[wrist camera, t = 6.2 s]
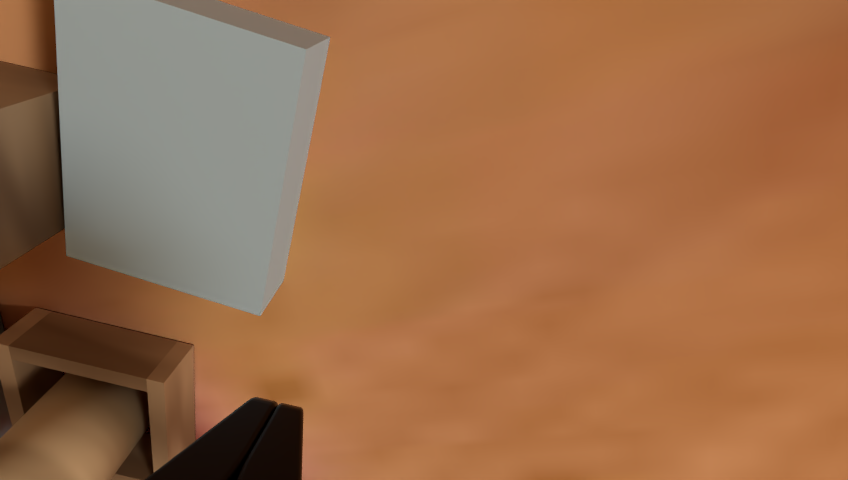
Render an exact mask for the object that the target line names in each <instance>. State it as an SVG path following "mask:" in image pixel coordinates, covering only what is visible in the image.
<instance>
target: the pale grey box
mask: <svg viewBox="0 0 848 480" xmlns="http://www.w3.org/2000/svg"><path fill="white" fill-rule="evenodd" d="M54 11H55V32H56V53H57V74H58V94H59V115H60V136H61V157H62V178H63V199H64V220H65V241H66V256H69V257H72V258H75V259H78V260H81V261H85V262H88V263H91V264H94V265H98V266H101V267H104V268H107V269H110V270H114V271H117V272H120V273H123V274H126V275H130V276H133V277H136V278H139V279H143V280H146V281H149V282H152V283H155V284H159V285H162V286H165V287H168V288H171V289H175V290H178V291H181V292H184V293H188V294H191V295H194V296H197V297H200V298H204V299H207V300H210V301H213V302H216V303H220V304H223V305H226V306H229V307H233V308H236V309H239V310H242V311H245V312H249V313H252V314H255V315H258V316H261V314H262V313H263V311H264V310H265V308H266V307H267V305H268V303H269V302H270V300H271V299H272V297H273V296H274V294H275V293H276V291H277V290H278V288H279V287H280V285H281V284H282V282H283V280H284V275H285V270H286V265H287V260H288V254H289V249H290V244H291V239H292V234H293V228H294V223H295V218H296V213H297V208H298V202H299V197H300V192H301V187H302V182H303V176H304V171H305V166H306V161H307V156H308V150H309V145H310V140H311V135H312V130H313V124H314V119H315V114H316V109H317V104H318V98H319V93H320V88H321V83H322V78H323V72H324V67H325V62H326V57H327V52H328V46H329V41H330V37H328V36H325V35H322V34H319V33H316V32H313V31H310V30H307V29H304V28H301V27H298V26H295V25H291V24H288V23H285V22H282V21H279V20H276V19H273V18H270V17H267V16H264V15H261V14H258V13H255V12H252V11H249V10H245V9H242V8H239V7H236V6H233V5H230V4H227V3H224V2H221V1H218V0H54Z"/></svg>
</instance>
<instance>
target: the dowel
mask: <svg viewBox="0 0 848 480" xmlns="http://www.w3.org/2000/svg"><path fill="white" fill-rule="evenodd" d="M149 426H150V419H149V406H148V393H147V392H145V391H141V390H137V389H133V388H129V387H124V386H120V385H116V384H112V383H108V382H104V381H99V380H95V379H91V378H87V377H83V376H78V375H74V374H70V373H66V374H65V375H64V376H63V377H62V378H61V379H60V380H59V381H58V382H57V383H56V384H55V385H54V386H53V387H52V388H51V389H50V390H48V391H47V392H46V393H45V394H44V395H43V396H42V397H41V398H40V399H39V400H38V401H37V402H36V403H35V404H34V405H33V406H32V407H31V408H30V409H29V410H28V411H27V412H26V413H25V414H24V415H23V416H22V417H21V418H20V419H19V420H18V421H17V422H16V423H15V424H14V425H13V426H12V427H11V428H10V429H9V430H8V431H7V432H6V433H5V434H4V435H3V436H2V437H1V438H0V480H111V479H112V477H113V476H114V475H115V473H116V472H117V470H118V469H119V468H120V466H121V465H122V463H123V462H124V461H125V459H126V458H127V457H128V455H129V454H130V452H131V451H132V450H133V448H134V447H135V446H136V444H137V443H138V441H139V440H140V439H141V437H142V436H143V435H144V433H145V432H146V430H147V429H148V428H149Z"/></svg>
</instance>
